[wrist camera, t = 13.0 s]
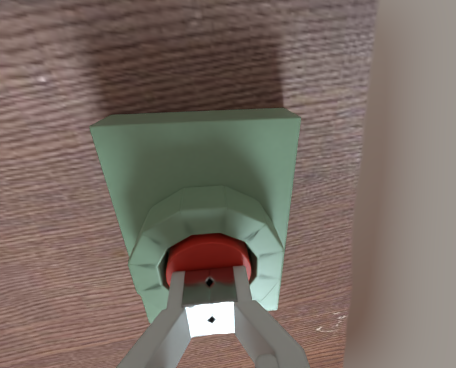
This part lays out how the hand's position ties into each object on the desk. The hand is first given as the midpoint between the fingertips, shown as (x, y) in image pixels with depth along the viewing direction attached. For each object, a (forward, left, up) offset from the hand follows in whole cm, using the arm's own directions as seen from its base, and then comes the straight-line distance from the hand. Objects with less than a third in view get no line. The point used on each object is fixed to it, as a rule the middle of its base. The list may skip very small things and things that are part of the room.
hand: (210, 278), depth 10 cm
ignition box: (0, 0, -4) cm, 4 cm away
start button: (0, 0, -2) cm, 2 cm away
